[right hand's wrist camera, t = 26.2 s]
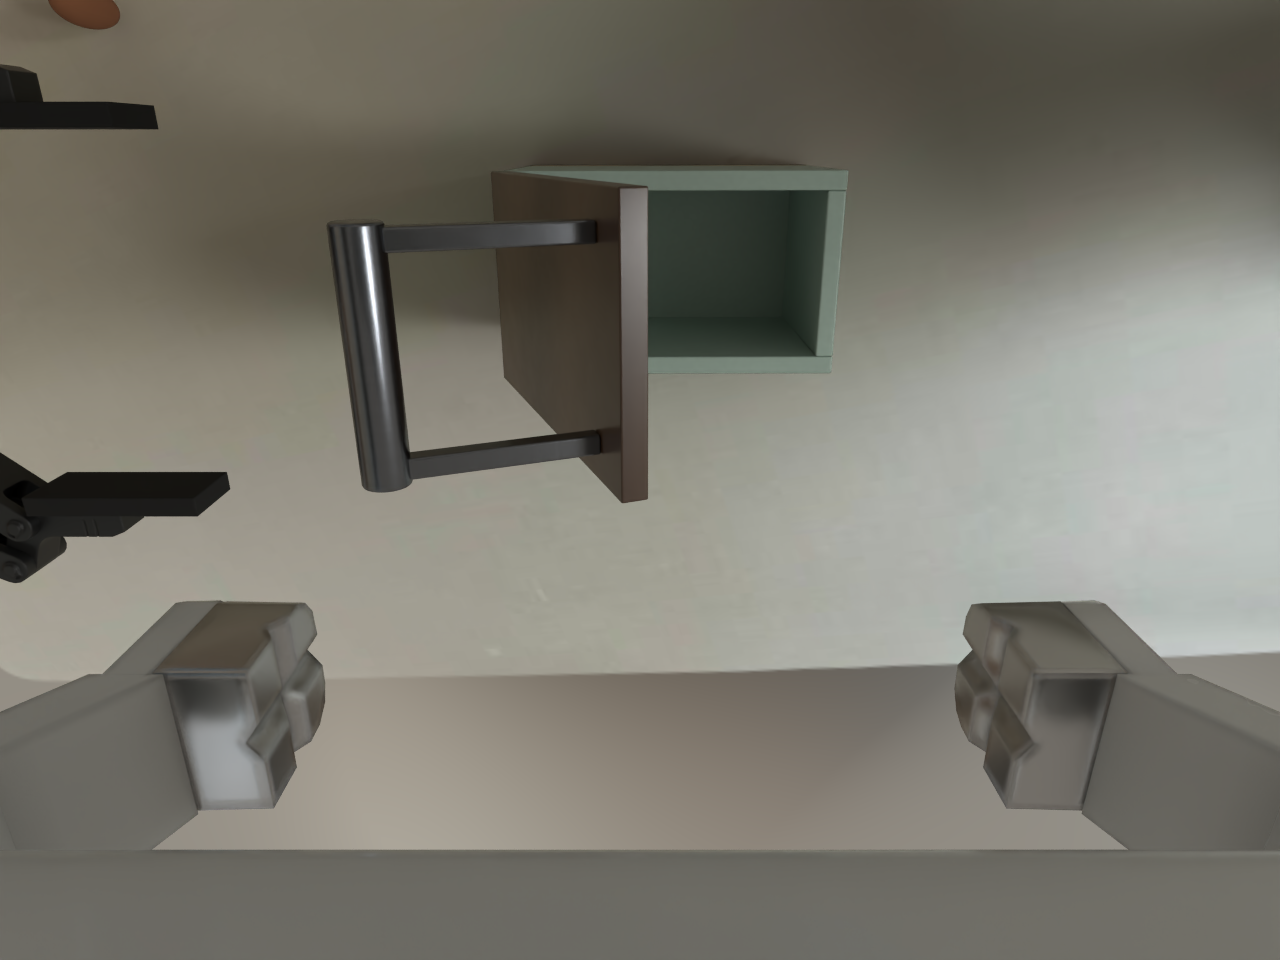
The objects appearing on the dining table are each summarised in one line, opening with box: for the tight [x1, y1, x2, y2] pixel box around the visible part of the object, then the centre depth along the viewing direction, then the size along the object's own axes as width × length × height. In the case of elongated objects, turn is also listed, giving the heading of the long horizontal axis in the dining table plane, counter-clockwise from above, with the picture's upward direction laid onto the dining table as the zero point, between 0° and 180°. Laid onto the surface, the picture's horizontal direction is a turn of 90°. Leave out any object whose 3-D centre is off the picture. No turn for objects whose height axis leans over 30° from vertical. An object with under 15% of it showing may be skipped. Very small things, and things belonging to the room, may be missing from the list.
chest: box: [506, 165, 848, 374], centre depth 45 cm, size 16×10×11 cm, turn 90°
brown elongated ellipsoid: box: [48, 0, 120, 29], centre depth 43 cm, size 2×2×5 cm
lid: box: [327, 171, 648, 503], centre depth 31 cm, size 17×10×9 cm
